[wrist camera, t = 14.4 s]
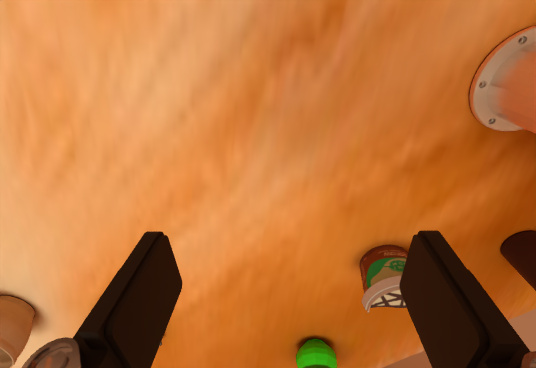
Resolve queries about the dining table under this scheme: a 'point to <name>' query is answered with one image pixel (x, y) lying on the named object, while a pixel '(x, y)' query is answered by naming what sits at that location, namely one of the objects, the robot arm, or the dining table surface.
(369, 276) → the food container
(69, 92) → the dining table surface
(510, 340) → the robot arm
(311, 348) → the plastic bottle
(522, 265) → the vinegar
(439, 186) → the dining table surface
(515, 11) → the dining table surface
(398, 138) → the dining table surface
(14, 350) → the planter bowl
